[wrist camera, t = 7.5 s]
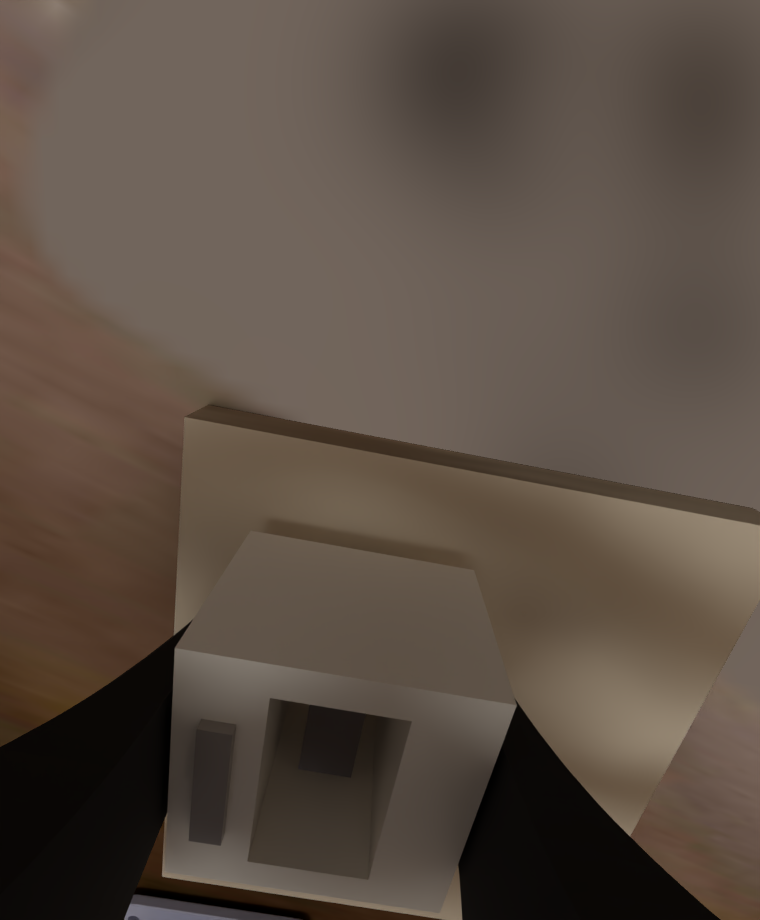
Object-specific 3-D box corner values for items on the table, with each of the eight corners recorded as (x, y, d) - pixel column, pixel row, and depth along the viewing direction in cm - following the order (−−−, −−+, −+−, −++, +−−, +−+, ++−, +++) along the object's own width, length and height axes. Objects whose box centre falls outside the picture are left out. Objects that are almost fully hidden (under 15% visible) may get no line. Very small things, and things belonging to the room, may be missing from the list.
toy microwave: (425, 735, 13) (440, 926, 9) (232, 703, 13) (159, 884, 9) (474, 570, 11) (519, 715, 7) (250, 530, 11) (168, 657, 7)
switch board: (559, 891, 19) (616, 1088, 14) (180, 832, 18) (105, 1016, 13) (752, 508, 13) (958, 621, 8) (208, 404, 12) (95, 462, 8)
